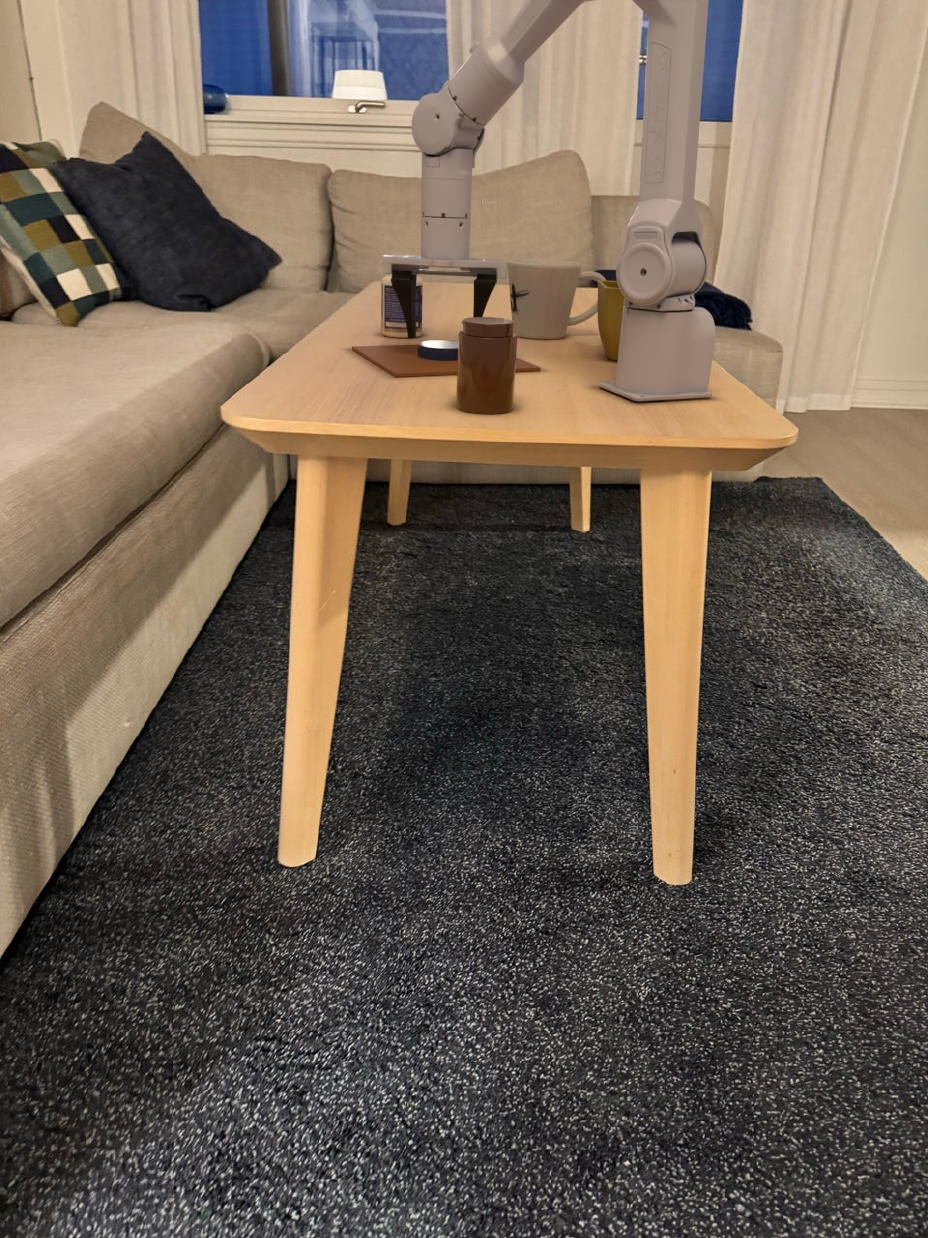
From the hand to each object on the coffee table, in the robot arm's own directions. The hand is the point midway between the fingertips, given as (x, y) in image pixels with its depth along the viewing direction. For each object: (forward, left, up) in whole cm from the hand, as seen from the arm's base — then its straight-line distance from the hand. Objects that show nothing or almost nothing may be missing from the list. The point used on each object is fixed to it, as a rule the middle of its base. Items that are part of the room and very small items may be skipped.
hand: (443, 339), depth 110 cm
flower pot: (-24, +4, -3) cm, 24 cm away
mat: (0, 0, -2) cm, 2 cm away
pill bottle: (-1, -19, -3) cm, 19 cm away
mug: (-23, -15, -3) cm, 28 cm away
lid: (0, 0, -1) cm, 1 cm away
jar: (+5, +25, -2) cm, 26 cm away
